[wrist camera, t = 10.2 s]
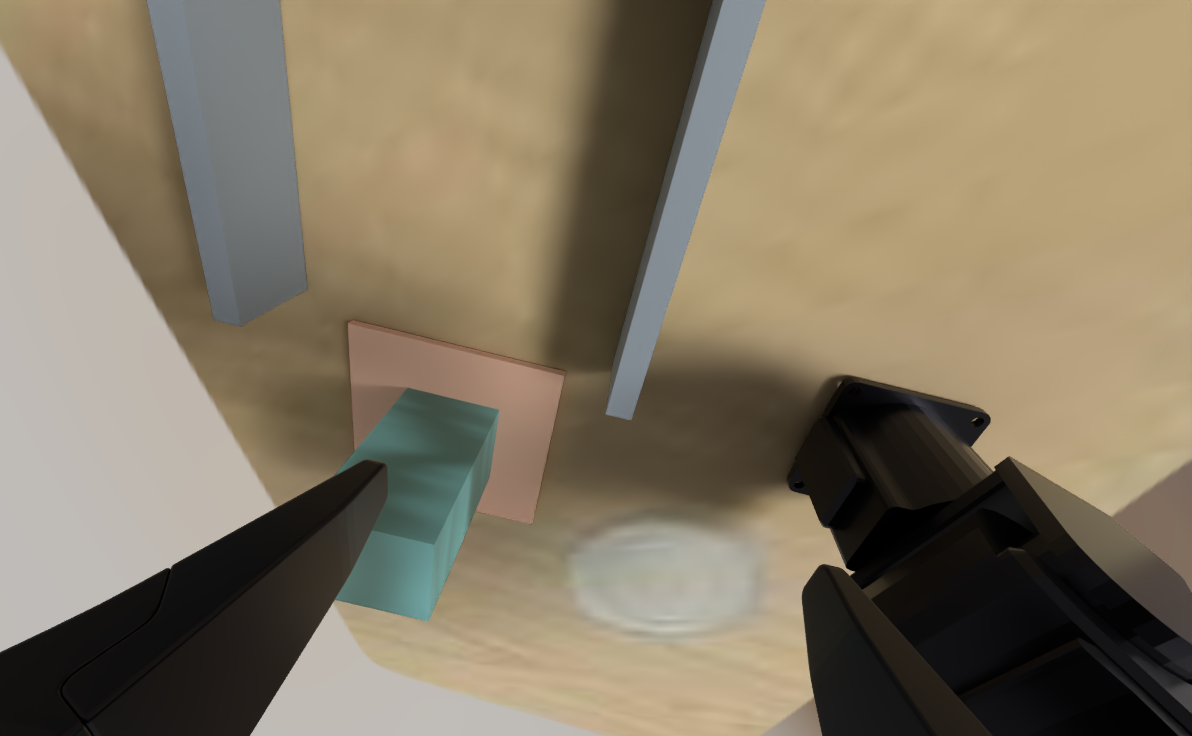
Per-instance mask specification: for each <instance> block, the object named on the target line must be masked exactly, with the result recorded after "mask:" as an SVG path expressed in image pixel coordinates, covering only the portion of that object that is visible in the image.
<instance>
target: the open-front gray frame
mask: <svg viewBox="0 0 1192 736" xmlns="http://www.w3.org/2000/svg"><path fill="white" fill-rule="evenodd" d="M765 2H766V0H713V2H712V5H711V9H710V12H709V16H708V20H707V23H706V27H705V31H704V34H703V38H702V42H701V45H700V49H699V52H698V56H697V60H696V63H695V67H694V71H693V74H692V78H691V81H690V85H689V89H688V92H687V96H686V100H685V103H684V107H683V111H682V114H681V118H680V121H679V125H678V129H677V132H676V136H675V140H674V143H673V147H672V150H671V154H670V158H669V161H668V165H667V169H666V172H665V176H664V179H663V183H662V187H661V190H660V194H659V198H658V201H657V205H656V209H655V212H654V216H653V219H652V223H651V227H650V230H649V234H648V238H647V241H646V245H645V248H644V252H643V256H642V259H641V263H640V267H639V270H638V274H637V278H636V281H635V285H634V288H633V292H632V296H631V299H630V303H629V307H628V310H627V314H626V317H625V321H624V325H623V328H622V332H621V336H620V339H619V343H618V347H617V350H616V354H615V357H614V361H613V366H612V373H611V380H610V387H609V394H608V401H607V408H606V415H610V416H614V417H618V418H623V419H627V420H631V419H632V416H633V413H634V410H635V407H636V404H637V401H638V398H639V395H640V391H641V388H642V385H643V382H644V379H645V376H646V373H647V370H648V367H649V363H650V360H651V357H652V354H653V351H654V348H655V345H656V342H657V338H658V335H659V332H660V329H661V326H662V323H663V320H664V317H665V314H666V310H667V307H668V304H669V301H670V298H671V295H672V292H673V289H674V286H675V282H676V279H677V276H678V273H679V270H680V267H681V264H682V261H683V257H684V254H685V251H686V248H687V245H688V242H689V239H690V236H691V233H692V229H693V226H694V223H695V220H696V217H697V214H698V211H699V208H700V205H701V201H702V198H703V195H704V192H705V189H706V186H707V183H708V180H709V177H710V173H711V170H712V167H713V164H714V161H715V158H716V155H717V152H718V148H719V145H720V142H721V139H722V136H723V133H724V130H725V127H726V124H727V120H728V117H729V114H730V111H731V108H732V105H733V102H734V99H735V96H736V92H737V89H738V86H739V83H740V80H741V77H742V74H743V71H744V68H745V64H746V61H747V58H748V55H749V52H750V49H751V46H752V43H753V39H754V36H755V33H756V30H757V27H758V24H759V21H760V18H761V15H762V11H763V8H764V5H765ZM147 5H148V9H149V14H150V19H151V24H152V28H153V33H154V38H155V43H156V47H157V52H158V57H159V62H160V66H161V71H162V76H163V81H164V85H165V90H166V95H167V100H168V104H169V109H170V114H171V119H172V123H173V128H174V133H175V138H176V142H177V147H178V152H179V157H180V161H181V166H182V171H183V176H184V181H185V185H186V190H187V195H188V200H189V204H190V209H191V214H192V219H193V223H194V228H195V233H196V238H197V242H198V247H199V252H200V257H201V261H202V266H203V271H204V276H205V280H206V285H207V290H208V295H209V299H210V304H211V309H212V314H213V318H214V320H215V321H219V322H223V323H228V324H232V325H236V326H240V327H241V326H242V325H244V324H246V323H248V322H250V321H251V320H253V319H255V318H257V317H259V316H260V315H262V314H264V313H266V312H268V311H269V310H271V309H273V308H275V307H276V306H278V305H280V304H282V303H284V302H285V301H287V300H289V299H291V298H293V297H294V296H296V295H298V294H300V293H302V292H303V291H305V290H307V279H306V269H305V258H304V248H303V238H302V227H301V217H300V206H299V196H298V185H297V175H296V165H295V154H294V144H293V133H292V123H291V113H290V102H289V92H288V81H287V71H286V61H285V50H284V40H283V29H282V19H281V9H280V0H147Z"/></svg>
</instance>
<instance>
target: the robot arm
mask: <svg viewBox="0 0 1192 736" xmlns="http://www.w3.org/2000/svg"><path fill="white" fill-rule="evenodd" d="M854 387H857V389H856V390H855V391H853V392H849V390H850V389H851V388H854ZM975 418H978V419H976V420H975V421H972V420H973V419H975ZM971 421H972V422H971ZM990 421H991V418H990V416H989V415H988V414H987V413H986V412H985V411H984V410H983V409H981V408H978V407H974V406H970V405H966V404H962V403H957V402H953V401H949V400H945V399H941V398H937V397H933V396H929V395H925V394H921V393H917V392H913V391H908V390H904V389H900V388H896V387H892V386H888V385H884V384H880V383H876V382H872V381H868V380H864V379H860V378H848V379H846V380H844V381H843V382H842V383H841V384H840V386H839V387H838V389H837V391H836V393H835V394H834V396H833V398H832V400H831V401H830V403H829V405H828V407H827V408H826V410H825V412H824V413H823V415H822V416H821V417H820V418H819V419H817V421H816V422H815V424H814V426H813V428H812V429H811V431H810V433H809V435H808V436H807V438H806V440H805V442H804V443H803V445H802V447H801V449H800V450H799V452H798V454H797V456H796V457H795V461H796V462H795V464H794V466H793V468H792V469H791V471H790V473H789V475H788V476H787V479H786V480H787V483H788V486H789V488H790V489H791V490H792V491H794V492H798V493H802V494H806V495H809V496H810V499H811V501H812V504H813V506H814V509H815V511H816V514H817V516H818V519H819V521H820V523H821V525H822V526H823V527H825V528H829V529H830V530H831V532H832V535H833V537H834V539H835V542H836V544H837V547H838V549H839V551H840V554H841V556H842V559H843V561H844V563H845V566H846V568H847V569H849V570H851V571H855V572H854V573H853V574H851V575H850V576H849V575H848V574H847V573H846V572H845V571H844V570H843V569H841V568H839V567H834V566H830V565H826V564H822V565H820V566H819V567H818V568H817V569H816V571H815V572H814V574H813V575H812V576H811V578H810V579H809V581H808V582H807V584H806V585H805V587H804V589H803V592H802V606H803V615H804V625H805V634H806V644H807V653H808V662H809V670H810V677H811V683H812V688H813V693H814V698H815V703H816V707H817V712H818V717H819V722H820V727H821V732H822V736H1192V592H1191V590H1190V589H1189V587H1188V585H1187V584H1186V582H1185V580H1184V579H1183V578H1182V577H1181V576H1180V575H1179V574H1178V573H1177V572H1176V571H1175V570H1174V569H1172V568H1171V567H1170V566H1169V565H1168V564H1167V563H1165V562H1164V561H1163V560H1162V559H1161V558H1159V557H1158V556H1157V555H1156V554H1155V553H1153V552H1152V551H1151V550H1150V549H1149V548H1147V547H1146V546H1145V545H1144V544H1142V542H1140V541H1139V540H1138V539H1137V538H1136V537H1134V536H1133V535H1132V534H1131V533H1130V532H1128V531H1127V530H1126V529H1125V528H1124V527H1122V526H1121V525H1120V524H1119V523H1118V522H1116V521H1115V520H1114V519H1113V518H1111V517H1110V516H1109V515H1107V514H1106V513H1104V512H1102V511H1101V510H1099V509H1097V508H1096V507H1094V506H1092V505H1091V504H1089V503H1087V502H1086V501H1084V500H1082V499H1080V498H1079V497H1077V496H1075V495H1074V494H1072V493H1070V492H1069V491H1067V490H1065V489H1064V488H1062V487H1060V486H1059V485H1057V484H1055V483H1054V482H1052V481H1050V480H1049V479H1047V478H1045V477H1044V476H1042V475H1040V474H1039V473H1037V472H1035V471H1034V470H1032V469H1030V468H1028V467H1027V466H1025V465H1023V464H1022V463H1020V462H1018V461H1017V460H1015V459H1013V458H1012V457H1010V456H1009V457H1007V458H1006V459H1005V460H1003V461H1002V462H1000V463H999V464H998V465H996V466H995V469H996V470H995V471H994V472H993V471H992V470H991V468H990V467H989V466H988V465H987V464H986V463H985V462H984V461H983V460H982V459H981V458H980V456H979V455H978V454H977V453H976V452H975V451H974V450H973V449H972V448H971V446H972V445H973V444H974V443H975V441H976V440H977V439H978V438H979V436H980V435H981V434H982V433H983V431H984V430H985V429H986V428H987V426H988V425H989V423H990ZM796 481H801V482H798V483H795V482H796ZM387 496H388V467H387V465H386V464H385V463H384V462H379V461H375V460H371V459H366V460H363V461H361V462H359V463H357V464H355V465H353V466H352V467H350V468H348V469H346V470H344V471H342V472H341V473H339V474H337V475H335V476H333V477H332V478H330V479H328V480H326V481H324V482H323V483H321V484H319V485H317V486H315V487H313V488H312V489H310V490H308V491H306V492H304V493H303V494H301V495H299V496H297V497H295V498H293V499H292V500H290V501H288V502H286V503H284V504H283V505H281V506H279V507H277V508H275V509H274V510H272V511H270V512H268V513H266V514H264V515H263V516H261V517H259V518H257V519H255V520H254V521H252V522H250V523H248V524H246V525H244V526H243V527H241V528H239V529H237V530H235V531H234V532H232V533H230V534H228V535H226V536H224V537H223V538H221V539H219V540H217V541H215V542H214V543H212V544H210V545H208V546H206V547H204V548H203V549H201V550H199V551H197V552H196V553H194V554H192V555H190V556H188V557H186V558H185V559H183V560H181V561H179V562H177V563H176V564H174V565H173V566H172V567H171V569H169V568H166V569H164V570H163V571H161V572H159V573H157V574H155V575H153V576H152V577H150V578H148V579H146V580H144V581H143V582H141V583H139V584H137V585H135V586H133V587H131V588H129V589H127V590H125V591H124V592H122V593H120V594H118V595H116V596H114V597H112V598H111V599H109V600H107V601H105V602H103V603H101V604H100V605H97V606H95V607H93V608H91V609H89V610H87V611H85V612H83V613H81V614H79V615H77V616H75V617H73V618H71V619H69V620H66V621H64V622H62V623H61V624H58V625H56V626H55V627H52V628H50V629H48V630H46V631H44V632H42V633H40V634H38V635H35V636H33V637H32V638H29V639H27V640H25V641H23V642H21V643H19V644H17V645H14V646H12V647H10V648H8V649H6V650H4V651H2V652H0V736H250V734H251V733H252V731H253V730H254V728H255V727H256V725H257V723H258V722H259V720H260V719H261V717H262V715H263V714H264V712H265V711H266V709H267V707H268V706H269V704H270V703H271V701H272V699H273V698H274V696H275V695H276V693H277V691H278V690H279V688H280V686H281V685H282V683H283V682H284V680H285V679H286V677H287V675H288V674H289V672H290V671H291V669H292V667H293V666H294V664H295V663H296V661H297V659H298V658H299V656H300V655H301V653H302V651H303V650H304V648H305V647H306V645H307V643H308V642H309V640H310V639H311V637H312V635H313V634H314V632H315V630H316V629H317V627H318V626H319V624H320V623H321V621H322V619H323V618H324V616H325V614H326V613H327V611H328V609H329V608H330V607H331V605H332V603H333V602H334V600H335V599H336V597H337V595H338V594H339V592H340V591H341V589H342V587H343V586H344V584H345V582H346V581H347V579H348V577H349V576H350V574H351V572H352V570H353V568H354V566H355V564H356V562H357V560H358V558H359V556H360V554H361V552H362V550H363V548H364V546H365V544H366V542H367V540H368V538H369V536H370V534H371V531H372V529H373V527H374V525H375V523H376V521H377V519H378V517H379V515H380V513H381V511H382V509H383V507H384V505H385V502H386V500H387Z"/></svg>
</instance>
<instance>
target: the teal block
mask: <svg viewBox="0 0 1192 736" xmlns="http://www.w3.org/2000/svg"><path fill="white" fill-rule="evenodd" d="M499 411H500V410H498V409H494V408H490V407H486V406H482V405H478V404H474V403H469V402H465V401H461V400H457V399H453V398H449V397H445V396H441V395H437V394H433V393H428V392H424V391H420V390H416V389H412V388H407V389H406V391H405V392H404V393H403V394H402V395H401V397H400V398H399V399H398V400H397V401H396V403H395V404H394V405H393V406H392V407H391V408H390V410H389V411H388V412H387V413H386V414H385V416H384V417H383V418H382V419H381V420H380V422H379V423H378V424H377V425H376V426H375V428H374V429H373V430H372V431H371V432H370V434H369V435H368V436H367V437H366V438H365V439H364V441H363V442H362V443H361V444H360V445H359V447H358V448H357V449H356V450H355V451H354V453H353V454H352V455H351V456H350V457H349V459H348V460H347V461H346V462H345V463H344V465H343V466H342V467H341V468H340V469H339V470H338V472H337V473H336V474H335V475H337V474H339V473H341V472H342V471H344V470H346V469H348V468H350V467H352V466H353V465H355V464H357V463H359V462H361V461H363V460H366V459H371V460H375V461H379V462H384V463H385V464H386V465H387V467H388V496H387V500H386V502H385V505H384V507H383V509H382V511H381V513H380V515H379V517H378V519H377V521H376V523H375V525H374V527H373V529H372V531H371V534H370V536H369V538H368V540H367V542H366V544H365V546H364V548H363V550H362V552H361V554H360V556H359V558H358V560H357V562H356V564H355V566H354V568H353V570H352V572H351V574H350V576H349V577H348V579H347V581H346V582H345V584H344V586H343V587H342V589H341V591H340V592H339V594H338V595H337V597H336V599H335V600H338V601H342V602H347V603H351V604H355V605H360V606H364V607H368V608H373V609H377V610H381V611H386V612H390V613H394V614H398V615H403V616H407V617H411V618H416V619H420V620H424V621H429V619H430V617H431V614H432V612H433V610H434V607H435V605H436V602H437V600H438V598H439V595H440V593H441V591H442V588H443V586H444V584H445V581H446V579H447V577H448V574H449V572H450V570H451V567H452V565H453V562H454V560H455V558H456V555H457V553H458V551H459V548H460V546H461V544H462V541H463V539H464V537H465V534H466V532H467V530H468V527H469V525H470V522H471V520H472V518H473V515H474V513H475V511H476V508H477V506H478V504H479V501H480V499H481V497H482V494H483V492H484V490H485V487H486V485H487V482H488V480H489V478H490V472H491V465H492V458H493V451H494V445H495V438H496V431H497V425H498V418H499ZM335 475H334V476H335Z"/></svg>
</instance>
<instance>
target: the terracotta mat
mask: <svg viewBox="0 0 1192 736" xmlns="http://www.w3.org/2000/svg"><path fill="white" fill-rule="evenodd" d="M348 338H349V358H350V377H351V396H352V415H353V434H354V451H355V450H356V449H357V448H358V447H359V445H360V444H361V443H362V442H363V441H364V439H365V438H366V437H367V436H368V435H369V434H370V432H371V431H372V430H373V429H374V428H375V426H376V425H377V424H378V423H379V422H380V420H381V419H382V418H383V417H384V416H385V414H386V413H387V412H388V411H389V410H390V408H391V407H392V406H393V405H394V404H395V403H396V401H397V400H398V399H399V398H400V397H401V395H402V394H403V393H404V392H405V391H406V389H407V388H412V389H416V390H420V391H424V392H428V393H433V394H437V395H441V396H445V397H449V398H453V399H457V400H461V401H465V402H469V403H474V404H478V405H482V406H486V407H490V408H494V409H498V410H500V411H499V418H498V425H497V431H496V438H495V445H494V451H493V458H492V465H491V472H490V478H489V480H488V482H487V485H486V487H485V490H484V492H483V494H482V497H481V499H480V501H479V504H478V506H477V508H476V512H481V513H485V514H489V515H494V516H498V517H502V518H506V519H511V520H515V521H519V522H523V523H528V524H532V522H533V519H534V514H535V509H536V505H537V500H538V496H539V491H540V487H541V482H542V477H543V473H544V468H545V464H546V459H547V455H548V450H549V445H550V441H551V436H552V432H553V427H554V423H555V418H556V413H557V409H558V404H559V400H560V395H561V391H562V386H563V381H564V377H565V372H566V371H562V370H557V369H553V368H549V367H545V366H541V365H537V364H533V363H528V362H524V361H520V360H516V359H512V358H508V357H504V356H500V355H495V354H491V353H487V352H483V351H479V350H475V349H471V348H467V347H462V346H458V345H454V344H450V343H446V342H442V341H438V340H433V339H429V338H425V337H421V336H417V335H413V334H409V333H405V332H400V331H396V330H392V329H388V328H384V327H380V326H376V325H372V324H367V323H363V322H359V321H355V320H352V321H350V322H349V323H348Z"/></svg>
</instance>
